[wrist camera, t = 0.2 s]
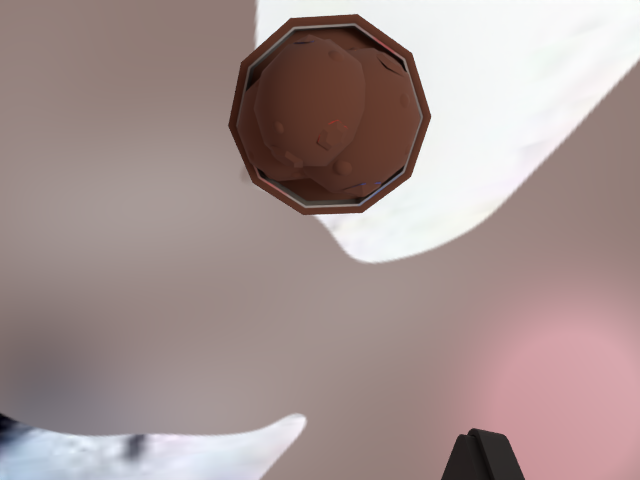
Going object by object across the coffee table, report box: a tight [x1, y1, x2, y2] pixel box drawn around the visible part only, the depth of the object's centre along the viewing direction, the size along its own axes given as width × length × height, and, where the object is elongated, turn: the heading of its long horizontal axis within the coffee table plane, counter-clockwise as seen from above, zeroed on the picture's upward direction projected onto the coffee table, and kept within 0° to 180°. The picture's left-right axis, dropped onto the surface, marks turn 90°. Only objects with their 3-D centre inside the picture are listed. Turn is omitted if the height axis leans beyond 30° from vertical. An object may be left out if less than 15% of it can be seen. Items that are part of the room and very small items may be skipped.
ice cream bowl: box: [228, 14, 431, 215], centre depth 30 cm, size 11×11×15 cm
